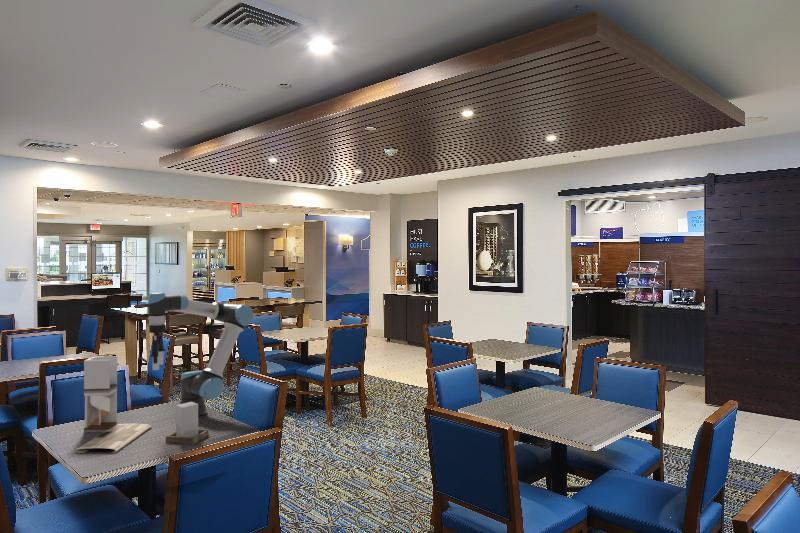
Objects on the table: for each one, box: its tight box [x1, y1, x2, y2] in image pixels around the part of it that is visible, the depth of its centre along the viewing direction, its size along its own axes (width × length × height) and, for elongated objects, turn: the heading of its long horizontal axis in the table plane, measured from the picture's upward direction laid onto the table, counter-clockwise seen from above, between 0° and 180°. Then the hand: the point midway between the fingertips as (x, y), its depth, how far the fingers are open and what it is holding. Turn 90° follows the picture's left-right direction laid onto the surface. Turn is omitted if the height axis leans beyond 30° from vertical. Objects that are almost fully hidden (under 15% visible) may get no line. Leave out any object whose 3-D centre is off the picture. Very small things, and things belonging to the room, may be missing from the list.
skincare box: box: [175, 402, 199, 438], centre depth 261 cm, size 8×7×16 cm
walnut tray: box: [165, 428, 209, 446], centre depth 261 cm, size 14×14×3 cm
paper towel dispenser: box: [83, 356, 118, 434], centre depth 275 cm, size 11×11×35 cm
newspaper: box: [74, 422, 152, 454], centre depth 260 cm, size 37×19×3 cm, turn 2°
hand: (158, 367), depth 275 cm, fingers open, 13 cm apart
